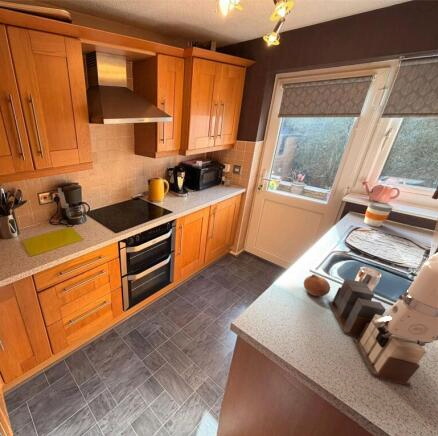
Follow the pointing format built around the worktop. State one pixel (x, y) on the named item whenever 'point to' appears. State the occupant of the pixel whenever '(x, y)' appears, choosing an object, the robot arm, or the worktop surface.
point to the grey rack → (355, 307)
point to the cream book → (379, 350)
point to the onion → (316, 286)
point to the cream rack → (390, 356)
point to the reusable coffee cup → (377, 213)
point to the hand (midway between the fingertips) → (393, 346)
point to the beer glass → (368, 277)
